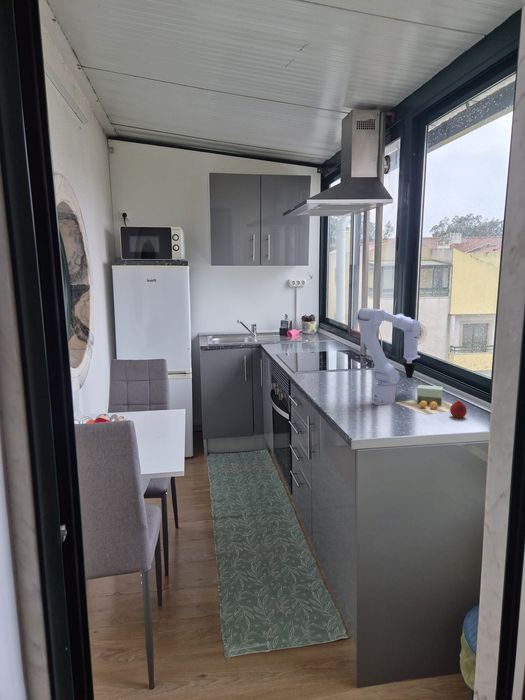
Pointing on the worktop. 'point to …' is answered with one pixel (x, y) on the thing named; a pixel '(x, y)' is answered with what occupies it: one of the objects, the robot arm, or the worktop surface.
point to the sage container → (429, 393)
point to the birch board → (427, 410)
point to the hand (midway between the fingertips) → (410, 375)
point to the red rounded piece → (458, 409)
